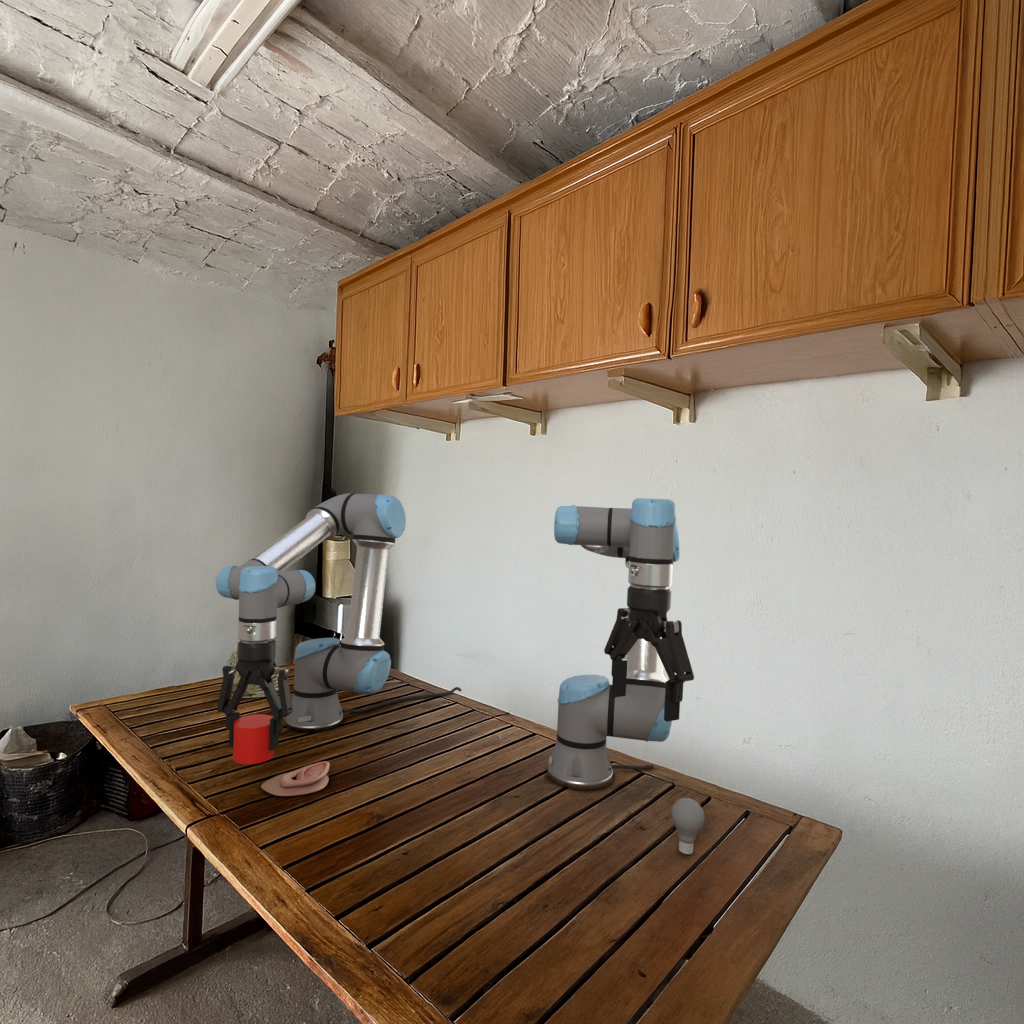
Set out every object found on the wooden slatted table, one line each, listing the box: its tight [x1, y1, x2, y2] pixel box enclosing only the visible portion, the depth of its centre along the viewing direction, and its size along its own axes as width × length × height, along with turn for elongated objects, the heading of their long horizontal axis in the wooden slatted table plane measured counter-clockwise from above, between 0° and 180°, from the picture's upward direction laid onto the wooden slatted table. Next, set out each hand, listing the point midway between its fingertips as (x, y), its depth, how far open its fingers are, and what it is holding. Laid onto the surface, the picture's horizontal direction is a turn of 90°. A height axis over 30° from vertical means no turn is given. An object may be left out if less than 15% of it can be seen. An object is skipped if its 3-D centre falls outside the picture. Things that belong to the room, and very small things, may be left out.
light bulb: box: [670, 797, 706, 855], centre depth 118 cm, size 6×6×10 cm
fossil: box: [226, 647, 279, 699], centre depth 198 cm, size 9×18×15 cm, turn 132°
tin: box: [232, 713, 275, 765], centre depth 134 cm, size 8×8×8 cm
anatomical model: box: [260, 760, 331, 797], centre depth 138 cm, size 13×4×12 cm
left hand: (253, 746), depth 134 cm, fingers closed on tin, 8 cm apart
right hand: (643, 707), depth 111 cm, fingers open, 13 cm apart
